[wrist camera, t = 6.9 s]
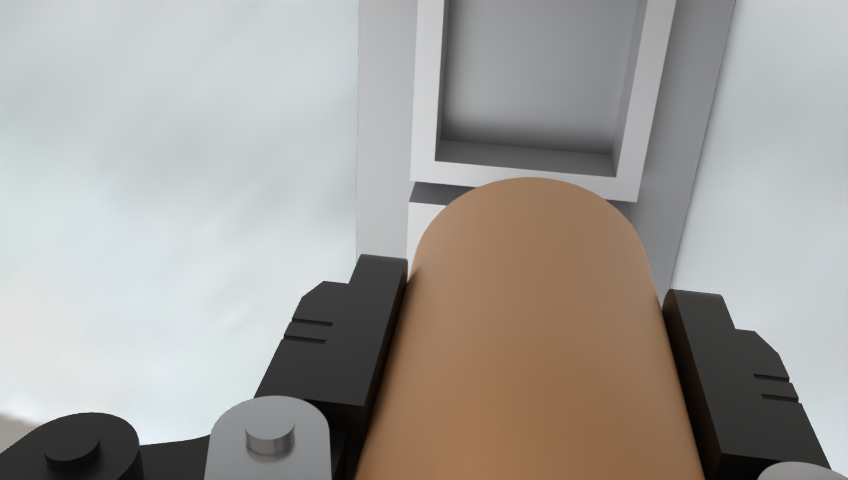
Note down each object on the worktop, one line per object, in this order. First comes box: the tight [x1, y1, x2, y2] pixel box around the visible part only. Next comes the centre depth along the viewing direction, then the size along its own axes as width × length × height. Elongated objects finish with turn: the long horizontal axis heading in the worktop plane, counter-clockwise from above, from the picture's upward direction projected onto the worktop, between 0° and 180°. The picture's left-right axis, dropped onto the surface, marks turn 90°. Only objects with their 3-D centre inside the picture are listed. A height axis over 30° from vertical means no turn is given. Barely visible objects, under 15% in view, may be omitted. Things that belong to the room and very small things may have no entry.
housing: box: [356, 0, 736, 309], centre depth 28 cm, size 18×12×3 cm, turn 177°
